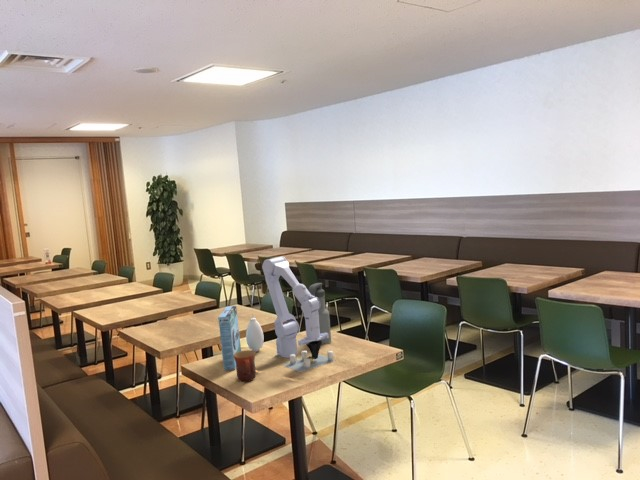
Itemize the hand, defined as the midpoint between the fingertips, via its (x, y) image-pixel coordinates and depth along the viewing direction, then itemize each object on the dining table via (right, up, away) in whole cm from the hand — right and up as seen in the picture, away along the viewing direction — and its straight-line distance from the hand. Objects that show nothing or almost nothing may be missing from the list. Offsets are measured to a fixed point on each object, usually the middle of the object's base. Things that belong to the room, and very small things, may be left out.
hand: (315, 358), depth 216 cm
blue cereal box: (-36, -4, +8) cm, 37 cm away
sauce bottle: (-28, -2, +22) cm, 35 cm away
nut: (-2, -1, -2) cm, 3 cm away
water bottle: (+2, +1, +27) cm, 27 cm away
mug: (-26, -6, -14) cm, 31 cm away
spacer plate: (-2, -2, -2) cm, 4 cm away
